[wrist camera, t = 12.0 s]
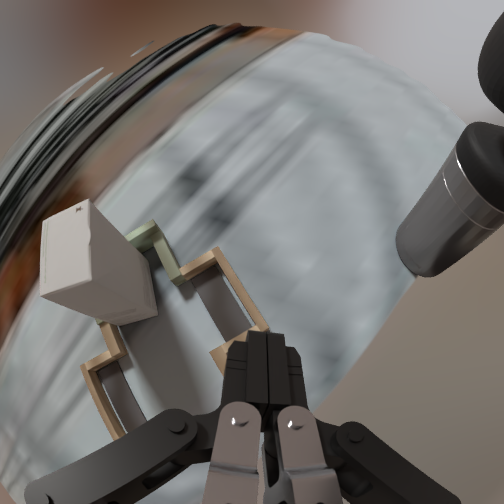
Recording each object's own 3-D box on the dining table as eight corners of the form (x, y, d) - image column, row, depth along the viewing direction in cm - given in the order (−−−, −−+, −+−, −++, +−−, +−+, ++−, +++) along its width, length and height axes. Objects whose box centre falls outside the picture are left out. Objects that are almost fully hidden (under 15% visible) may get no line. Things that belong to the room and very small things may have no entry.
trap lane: (197, 213, 38) (190, 197, 34) (292, 365, 29) (295, 365, 26) (65, 296, 34) (49, 288, 31) (126, 446, 26) (111, 453, 22)
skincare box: (111, 271, 36) (40, 217, 21) (151, 258, 36) (90, 193, 22) (118, 329, 32) (35, 297, 18) (162, 317, 33) (90, 278, 18)
